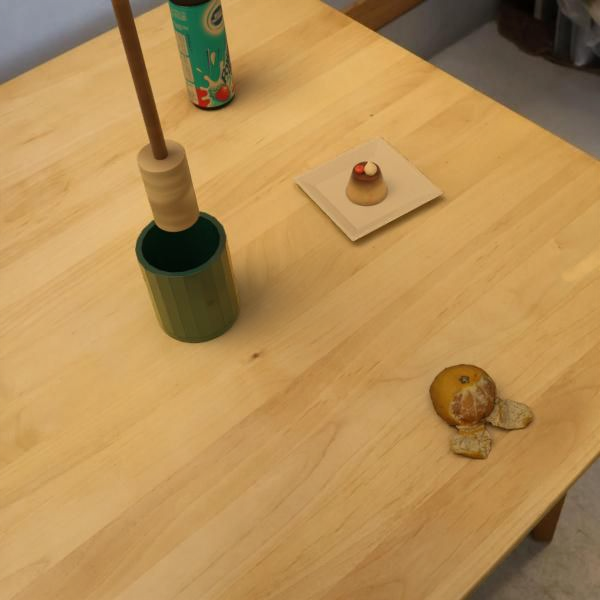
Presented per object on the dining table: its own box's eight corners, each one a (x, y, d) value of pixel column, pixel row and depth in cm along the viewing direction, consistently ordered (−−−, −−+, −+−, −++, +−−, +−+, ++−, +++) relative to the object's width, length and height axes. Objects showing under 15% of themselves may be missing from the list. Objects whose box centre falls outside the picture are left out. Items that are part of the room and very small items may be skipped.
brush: (178, 238, 73) (93, -77, 52) (145, 220, 75) (49, -93, 53) (208, 210, 75) (138, -105, 54) (175, 193, 77) (94, -119, 55)
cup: (203, 356, 83) (184, 291, 75) (140, 318, 86) (116, 252, 78) (256, 299, 86) (244, 232, 79) (194, 265, 90) (177, 197, 82)
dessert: (292, 185, 97) (289, 152, 93) (378, 142, 100) (378, 109, 96) (353, 248, 90) (351, 216, 86) (443, 200, 93) (445, 167, 90)
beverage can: (221, 116, 105) (201, 8, 94) (180, 105, 107) (156, -2, 96) (244, 88, 108) (227, -20, 97) (204, 78, 110) (183, -29, 99)
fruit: (468, 470, 73) (471, 449, 70) (405, 404, 77) (406, 382, 75) (538, 418, 76) (544, 396, 73) (473, 358, 80) (476, 334, 77)
